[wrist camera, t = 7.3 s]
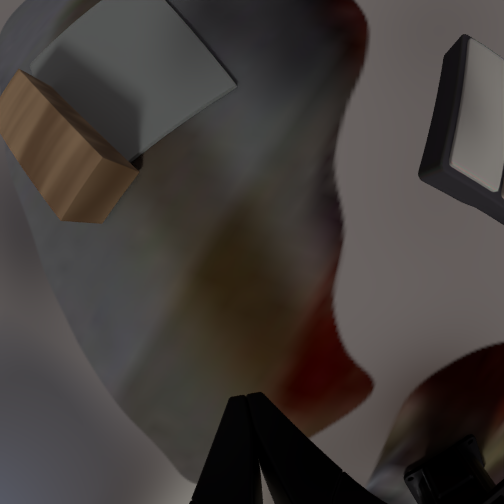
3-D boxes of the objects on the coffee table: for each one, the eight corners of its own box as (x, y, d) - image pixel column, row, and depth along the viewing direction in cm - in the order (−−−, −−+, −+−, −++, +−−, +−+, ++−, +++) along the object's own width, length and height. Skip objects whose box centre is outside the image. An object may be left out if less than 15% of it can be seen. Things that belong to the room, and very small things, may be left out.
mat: (237, 87, 19) (236, 84, 19) (81, 205, 21) (78, 204, 21) (141, -24, 20) (140, -27, 20) (32, 66, 22) (29, 64, 22)
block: (102, 157, 16) (18, 68, 17) (60, 220, 16) (-11, 115, 18) (139, 172, 20) (51, 86, 21) (102, 223, 21) (23, 127, 22)
